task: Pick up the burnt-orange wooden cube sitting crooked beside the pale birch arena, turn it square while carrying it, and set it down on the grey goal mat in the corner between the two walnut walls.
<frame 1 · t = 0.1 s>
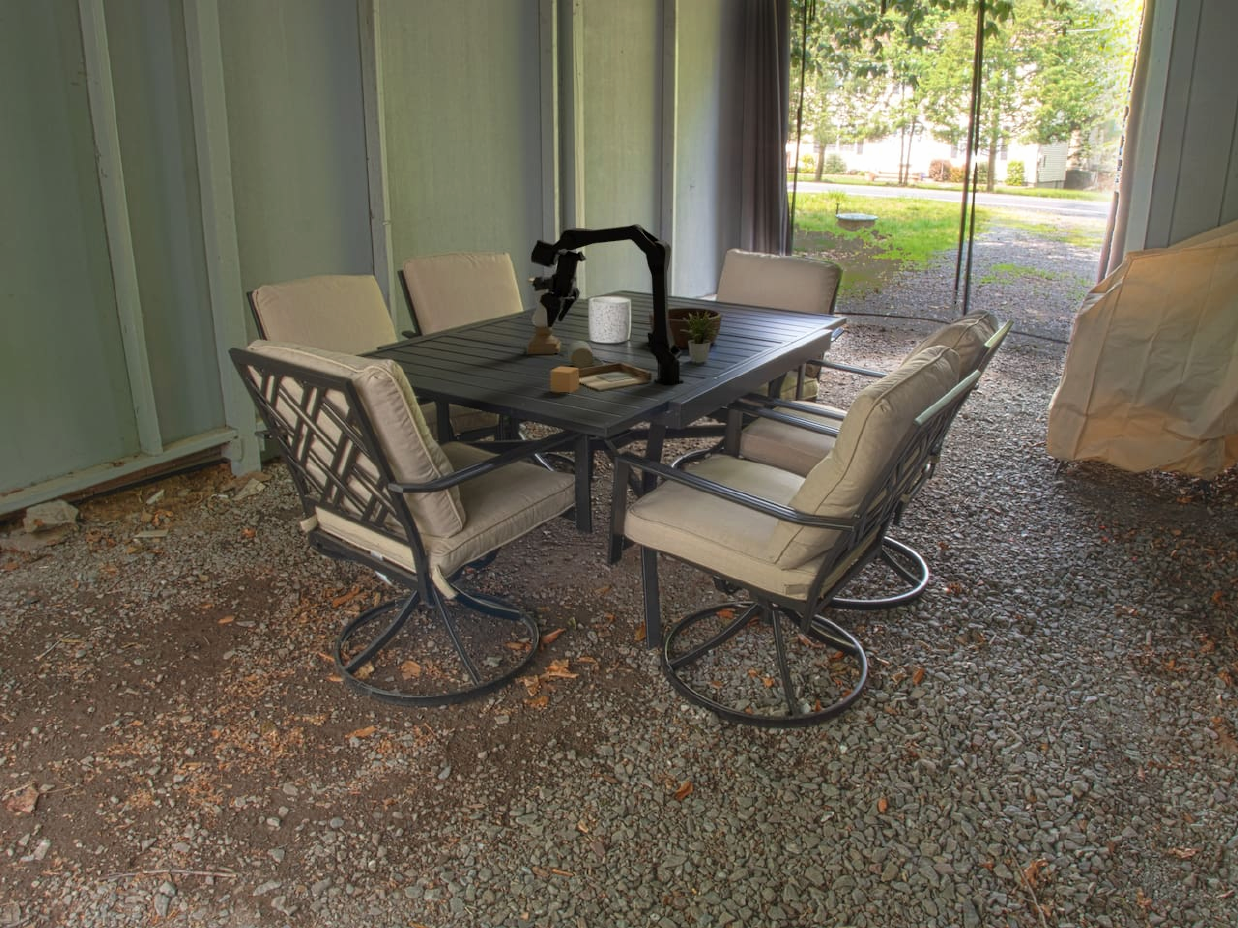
hand: (554, 324, 257), 15 cm above the table, tool pointing down, fingers open, 9 cm apart
ceramic mug: (585, 367, 272), on the table
house plant: (700, 362, 276), on the table
wooden bowl: (684, 343, 304), on the table
candle holder: (544, 351, 294), on the table
arena: (610, 380, 255), on the table
cube: (565, 390, 246), on the table
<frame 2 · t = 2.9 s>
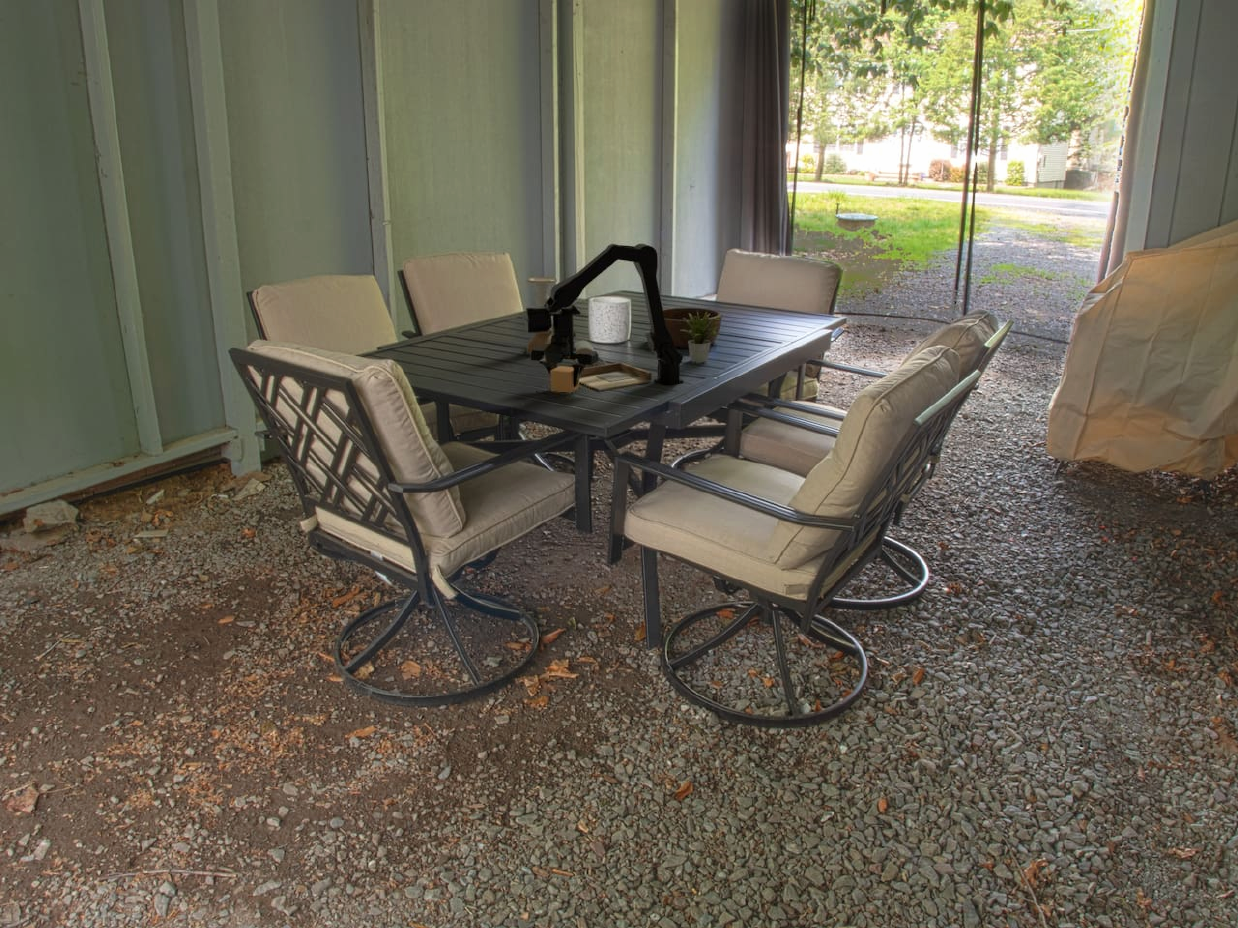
hand: (565, 385, 246), 1 cm above the table, tool pointing down, fingers closed on cube, 6 cm apart
cube: (565, 389, 246), on the table, touching gripper
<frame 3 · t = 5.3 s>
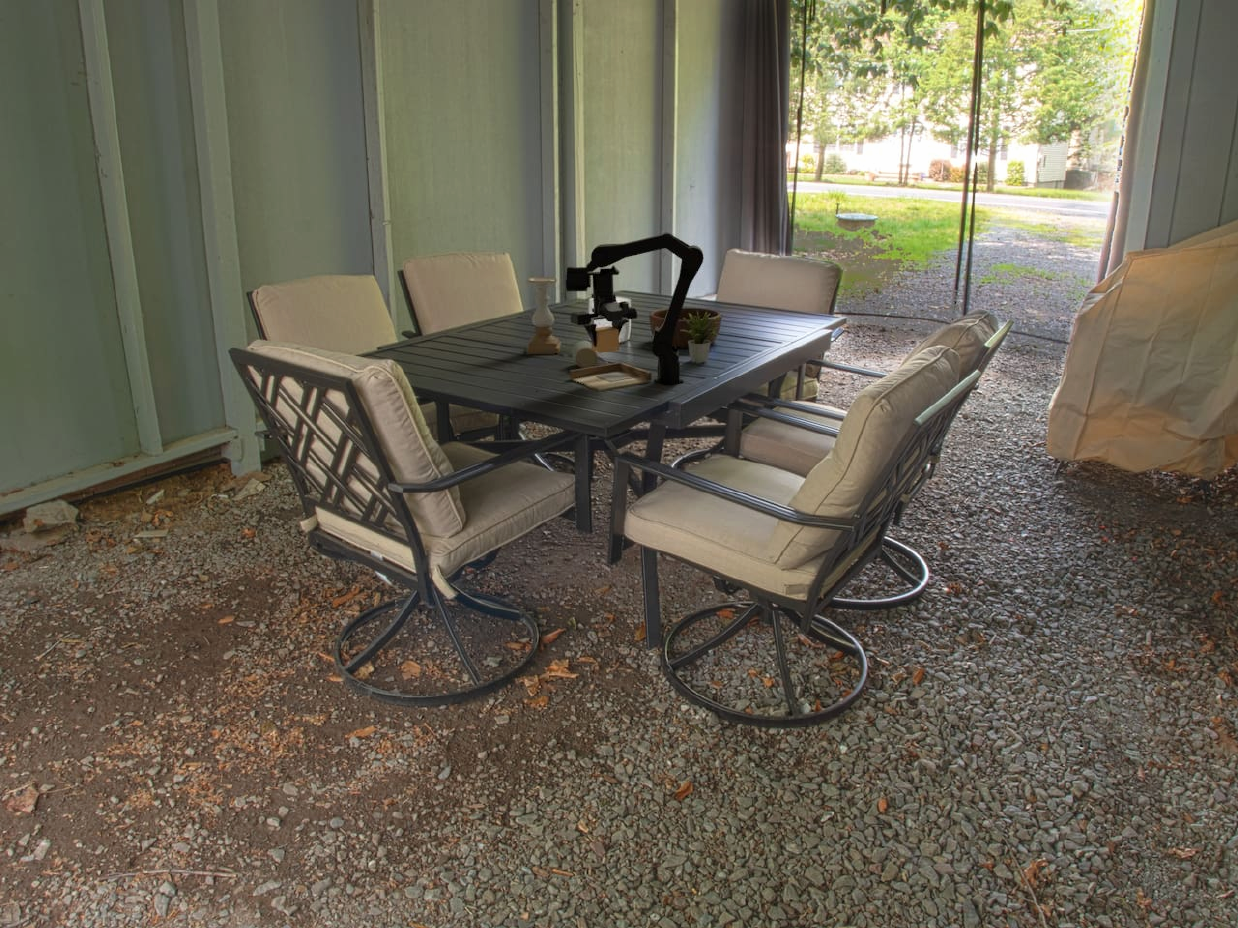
hand: (605, 345, 251), 11 cm above the table, tool pointing down, fingers closed on cube, 6 cm apart
cube: (605, 349, 251), point 9 cm above the table, touching gripper
when the fingers open (4 cm above the table, at t = 7.9 s): cube drops 2 cm, resting on arena.
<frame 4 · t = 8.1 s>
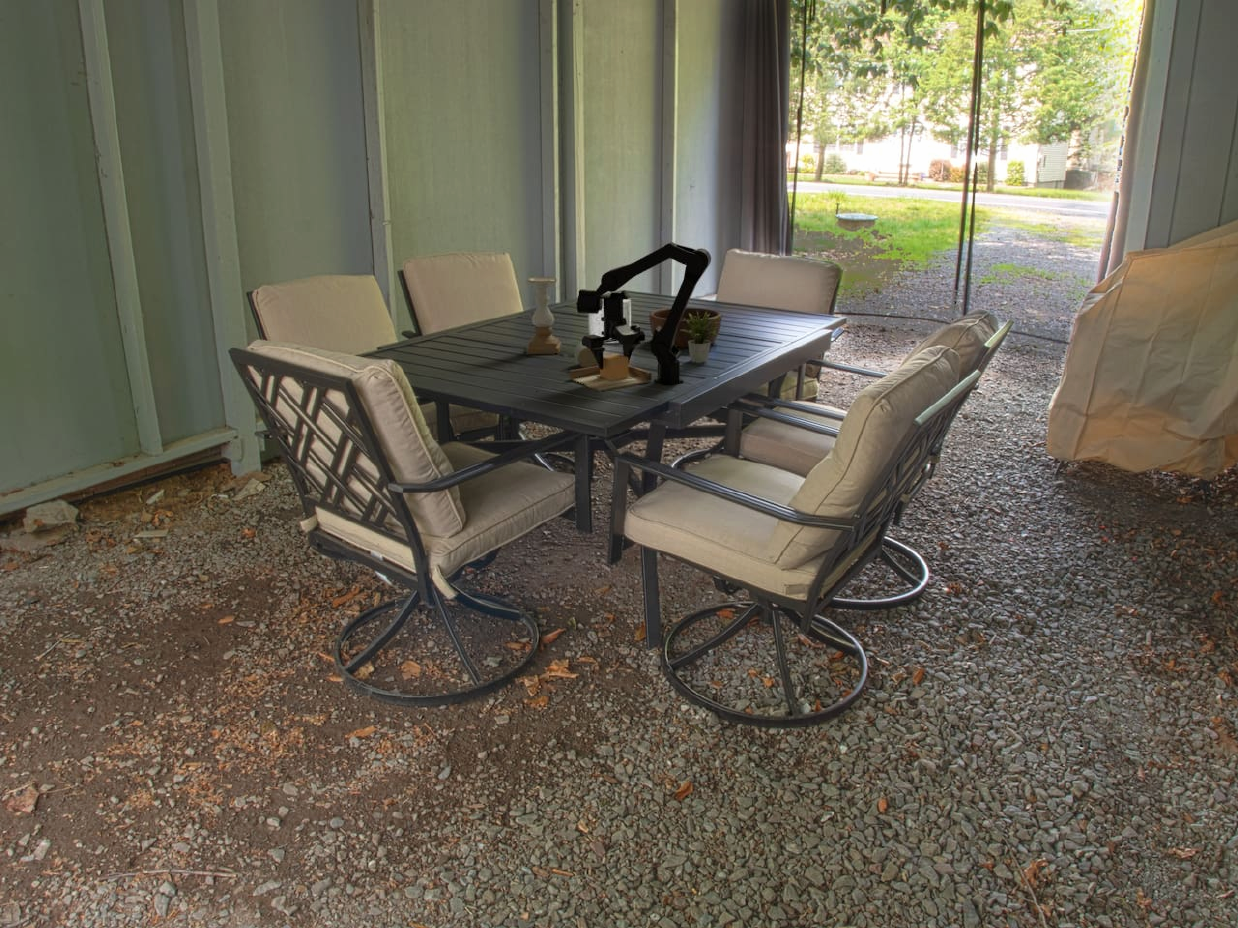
hand: (614, 367, 256), 4 cm above the table, tool pointing down, fingers open, 8 cm apart
cube: (614, 376, 257), point 1 cm above the table, touching arena
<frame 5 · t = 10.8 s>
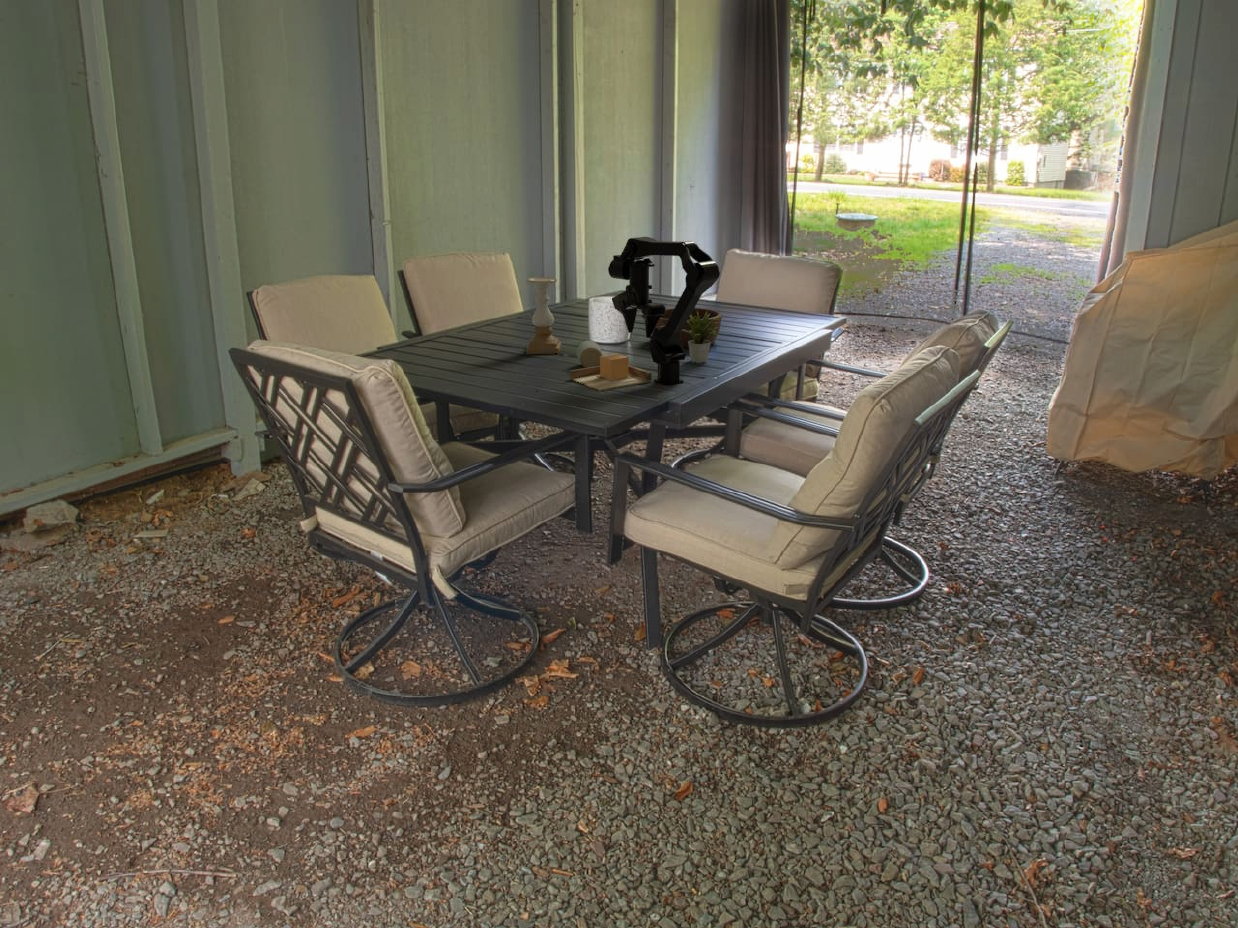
hand: (639, 335, 258), 12 cm above the table, tool pointing down, fingers open, 9 cm apart
at the end: cube 0.0 cm from the target spot, point 0.8 cm above the table; cube tilted 0°; the gripper is holding nothing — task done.
